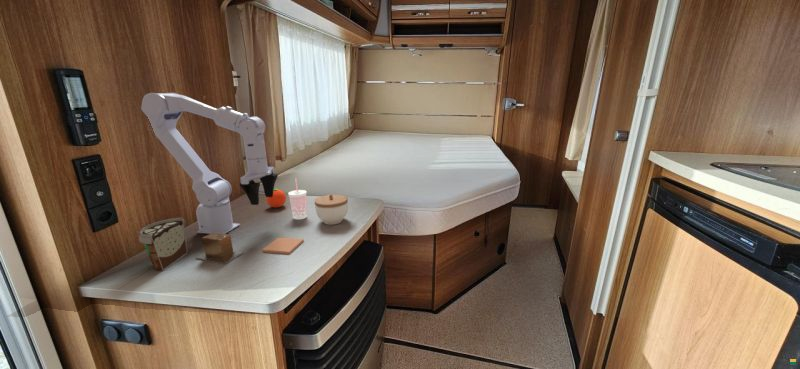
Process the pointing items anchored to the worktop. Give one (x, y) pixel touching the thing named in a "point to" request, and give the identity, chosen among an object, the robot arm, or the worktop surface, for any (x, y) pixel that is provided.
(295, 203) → the beverage cup
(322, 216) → the lidded jar
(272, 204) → the clementine
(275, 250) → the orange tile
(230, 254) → the tan block on plate
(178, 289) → the worktop surface
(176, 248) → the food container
